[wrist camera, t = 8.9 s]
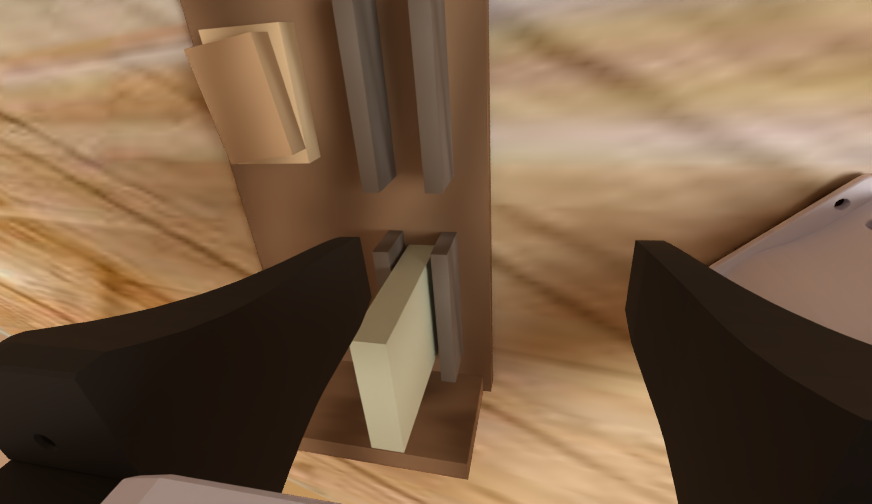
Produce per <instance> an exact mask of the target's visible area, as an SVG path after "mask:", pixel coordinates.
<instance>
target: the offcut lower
mask: <svg viewBox="0 0 872 504" xmlns="http://www.w3.org/2000/svg"><path fill="white" fill-rule="evenodd" d="M198 31H199V34H200V37H201V41H202V44H206V43H210V42H214V41H218V40H221V39H225V38H229V37H233V36H237V35H240V34H244V33H248V32H268V35H269V38H270V41H271V44H272V47H273V50H274V53H275V56H276V59H277V62H278V65H279V68H280V71H281V74H282V77H283V80H284V83H285V87H286V90H287V93H288V96H289V99H290V102H291V105H292V108H293V111H294V114H295V117H296V120H297V123H298V126H299V129H300V132H301V135H302V138H303V141H304V144H305V147H306V149H304V150H302V151H300V152H298V153H296V154H294V155H290V156H284V157H277V158H271V159H264V160H258V161H251V162H245V163H239V164H302V163H311V162H313V161H314V160H316V159H318V158H320V157H321V156H320V151H319V146H318V141H317V136H316V131H315V126H314V121H313V116H312V111H311V106H310V101H309V96H308V91H307V86H306V82H305V77H304V72H303V67H302V62H301V57H300V52H299V47H298V42H297V37H296V32H295V27H294V22H274V23H264V24H253V25H243V26H233V27H223V28H213V29H203V30H198Z"/></svg>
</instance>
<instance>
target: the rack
mask: <svg viewBox="0 0 872 504" xmlns="http://www.w3.org/2000/svg"><path fill="white" fill-rule="evenodd" d="M180 2H181V5H182V8H183V11H184V15H185V18H186V21H187V24H188V28H189V31H190V34H191V37H192V41H193V44H194V47H195V46H199V45H203V44H202V41H201V37H200V34H199V31H198V30H203V29H213V28H223V27H233V26H243V25H253V24H264V23H274V22H294V27H295V32H296V37H297V42H298V47H299V52H300V57H301V62H302V67H303V72H304V77H305V82H306V86H307V91H308V96H309V101H310V106H311V111H312V116H313V121H314V126H315V131H316V136H317V141H318V146H319V151H320V156H321V157H320V158H318V159H316V160H314V161H313V162H311V163H302V164H232V165H231V168H232V171H233V174H234V177H235V181H236V184H237V187H238V190H239V194H240V197H241V200H242V203H243V207H244V210H245V213H246V216H247V220H248V223H249V226H250V230H251V233H252V236H253V239H254V243H255V246H256V249H257V252H258V256H259V259H260V262H261V265H262V269H263V270H265V269H267V268H269V267H272V266H274V265H276V264H279V263H281V262H283V261H285V260H287V259H289V258H291V257H293V256H295V255H298V254H300V253H302V252H304V251H306V250H308V249H310V248H312V247H315V246H317V245H319V244H321V243H324V242H326V241H328V240H331V239H334V238H337V237H360V240H361V245H362V250H363V255H364V260H365V265H366V271H367V276H368V281H369V286H370V291H371V296H372V298H371V301H370V303H369V306H368V309H369V307H370V305H371V304H372V302H373V301H374V299H375V297H376V296H377V294H378V293H379V291H380V289H381V288H382V286H383V285H384V283H385V281H386V280H387V278H388V277H389V275H390V274H391V272H392V270H393V269H394V267H395V266H396V264H397V262H398V261H399V259H400V258H401V256H402V254H403V253H404V251H405V250H406V248H407V247H408V245H409V244H410V245H435V246H434V248H433V250H432V252H431V254H430V258H431V269H432V280H433V291H434V303H435V314H436V325H437V336H438V348H439V349H438V352H437V355H436V358H435V361H434V364H433V367H432V370H431V373H430V376H429V379H428V382H427V385H426V389H425V392H424V395H423V398H422V401H421V404H420V407H419V410H418V413H417V416H416V419H415V422H414V425H413V428H412V431H411V434H410V437H409V440H408V443H407V446H406V449H405V452H404V453H402V452H396V451H389V450H383V449H377V448H372V447H371V442H370V438H369V433H368V428H367V424H366V419H365V415H364V410H363V406H362V401H361V396H360V392H359V387H358V383H357V378H356V374H355V369H354V364H353V360H352V355H351V351H350V346H349V348H348V350H347V352H346V353H345V355H344V357H343V359H342V360H341V362H340V364H339V365H338V367H337V369H336V371H335V372H334V374H333V376H332V378H331V379H330V381H329V383H328V385H327V386H326V388H325V390H324V392H323V394H322V396H321V398H320V400H319V402H318V404H317V406H316V408H315V411H314V413H313V415H312V417H311V420H310V422H309V424H308V427H307V429H306V431H305V434H304V436H303V438H302V441H301V443H300V446H299V448H298V450H300V451H305V452H311V453H317V454H323V455H329V456H334V457H340V458H346V459H352V460H357V461H363V462H369V463H375V464H380V465H386V466H392V467H398V468H404V469H409V470H415V471H421V472H427V473H432V474H438V475H444V476H450V477H455V478H461V479H467V480H468V477H469V471H470V465H471V459H472V453H473V447H474V441H475V435H476V430H477V424H478V418H479V412H480V406H481V400H482V394H483V391H490V392H491V389H492V382H493V355H492V265H491V174H490V84H489V0H180ZM229 161H230V160H229ZM230 164H231V162H230ZM368 309H367V310H368Z"/></svg>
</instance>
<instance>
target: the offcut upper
mask: <svg viewBox="0 0 872 504" xmlns="http://www.w3.org/2000/svg"><path fill="white" fill-rule="evenodd" d="M184 51H185V54H186V56H187V58H188V61H189V63H190V66H191V68H192V70H193V73H194V75H195V78H196V80H197V83H198V85H199V87H200V90H201V92H202V95H203V97H204V99H205V102H206V104H207V107H208V109H209V112H210V114H211V116H212V119H213V121H214V124H215V126H216V129H217V131H218V133H219V136H220V138H221V141H222V143H223V145H224V148H225V150H226V153H227V155H228V158H229V160H230V162H231V165H232V164H239V163H245V162H251V161H258V160H264V159H271V158H277V157H284V156H290V155H294V154H296V153H298V152H300V151H302V150H304V149H306V147H305V144H304V141H303V138H302V135H301V132H300V129H299V126H298V123H297V120H296V117H295V114H294V111H293V108H292V105H291V102H290V99H289V96H288V93H287V90H286V87H285V83H284V80H283V77H282V74H281V71H280V68H279V65H278V62H277V59H276V56H275V53H274V50H273V47H272V44H271V41H270V38H269V35H268V32H248V33H244V34H240V35H237V36H233V37H229V38H225V39H221V40H218V41H214V42H210V43H206V44H203V45H199V46H195V47H191V48H188V49H184Z"/></svg>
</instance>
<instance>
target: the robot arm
mask: <svg viewBox="0 0 872 504" xmlns="http://www.w3.org/2000/svg"><path fill="white" fill-rule="evenodd" d="M843 198H844V199H845V200H844V202H843V203H842V204H841V205H840V206H837V207H834V205H835V203H836V202H837V201H838V200H840V199H843ZM371 298H372V296H371V291H370V286H369V281H368V276H367V271H366V265H365V260H364V255H363V250H362V245H361V240H360V237H337V238H334V239H331V240H328V241H326V242H324V243H321V244H319V245H317V246H315V247H312V248H310V249H308V250H306V251H304V252H302V253H300V254H298V255H295V256H293V257H291V258H289V259H287V260H285V261H283V262H281V263H279V264H276V265H274V266H272V267H269V268H267V269H265V270H263V271H260V272H258V273H256V274H254V275H251V276H249V277H247V278H244V279H242V280H239V281H237V282H234V283H232V284H229V285H226V286H223V287H221V288H218V289H215V290H212V291H209V292H206V293H203V294H200V295H197V296H194V297H190V298H187V299H183V300H180V301H176V302H173V303H169V304H166V305H162V306H158V307H155V308H151V309H146V310H142V311H138V312H134V313H129V314H125V315H120V316H115V317H110V318H105V319H100V320H95V321H89V322H83V323H77V324H70V325H64V326H58V327H51V328H45V329H38V330H30V331H25V332H21V333H18V334H16V335H13V336H10V337H8V338H7V339H5V340H3V341H2V342H0V450H1V451H2V452H3V453H4V454H5V455H6V456H7V457H8V459H11V460H10V461H9V462H8V463H7V464H5V465H4V466H3V467H2V468H1V469H0V504H340V503H334V502H329V501H323V500H317V499H311V498H305V497H299V496H294V495H288V494H282V490H283V488H284V485H285V482H286V479H287V477H288V474H289V471H290V468H291V466H292V463H293V461H294V458H295V456H296V453H297V451H298V448H299V446H300V443H301V441H302V438H303V436H304V434H305V431H306V429H307V427H308V424H309V422H310V420H311V417H312V415H313V413H314V411H315V408H316V406H317V404H318V402H319V400H320V398H321V396H322V394H323V392H324V390H325V388H326V386H327V385H328V383H329V381H330V379H331V378H332V376H333V374H334V372H335V371H336V369H337V367H338V365H339V364H340V362H341V360H342V359H343V357H344V355H345V353H346V352H347V350H348V348H349V346H350V345H351V343H352V341H353V339H354V337H355V336H356V334H357V332H358V330H359V328H360V326H361V324H362V322H363V319H364V317H365V314H366V312H367V309H368V306H369V303H370V301H371ZM625 311H626V317H627V323H628V328H629V333H630V338H631V343H632V346H633V349H634V352H635V355H636V358H637V361H638V364H639V367H640V370H641V373H642V376H643V379H644V381H645V384H646V387H647V390H648V393H649V396H650V399H651V401H652V404H653V407H654V410H655V413H656V416H657V419H658V422H659V425H660V428H661V431H662V435H663V438H664V442H665V446H666V450H667V455H668V459H669V463H670V468H671V472H672V477H673V481H674V485H675V490H676V495H677V500H678V504H872V174H870V173H869V174H863V175H861V176H859V177H857V178H855V179H853V180H852V181H850V182H848V183H847V184H845V185H843V186H842V187H840V188H838V189H837V190H835V191H833V192H832V193H830V194H828V195H827V196H825V197H823V198H822V199H820V200H818V201H817V202H815V203H813V204H812V205H810V206H808V207H807V208H805V209H803V210H802V211H800V212H798V213H797V214H795V215H793V216H792V217H790V218H788V219H787V220H785V221H783V222H782V223H780V224H778V225H777V226H775V227H773V228H772V229H770V230H768V231H767V232H765V233H763V234H762V235H760V236H758V237H757V238H755V239H753V240H752V241H750V242H748V243H747V244H745V245H744V246H742V247H740V248H739V249H737V250H735V251H734V252H732V253H730V254H729V255H727V256H725V257H724V258H722V259H720V260H719V261H717V262H715V263H714V264H712V265H710V266H709V267H708V266H706V265H704V264H703V263H701V262H699V261H698V260H696V259H695V258H693V257H691V256H690V255H688V254H687V253H685V252H683V251H682V250H680V249H678V248H677V247H675V246H673V245H671V244H669V243H667V242H665V241H647V240H636V241H635V248H634V254H633V261H632V268H631V274H630V281H629V288H628V294H627V301H626V308H625Z"/></svg>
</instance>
